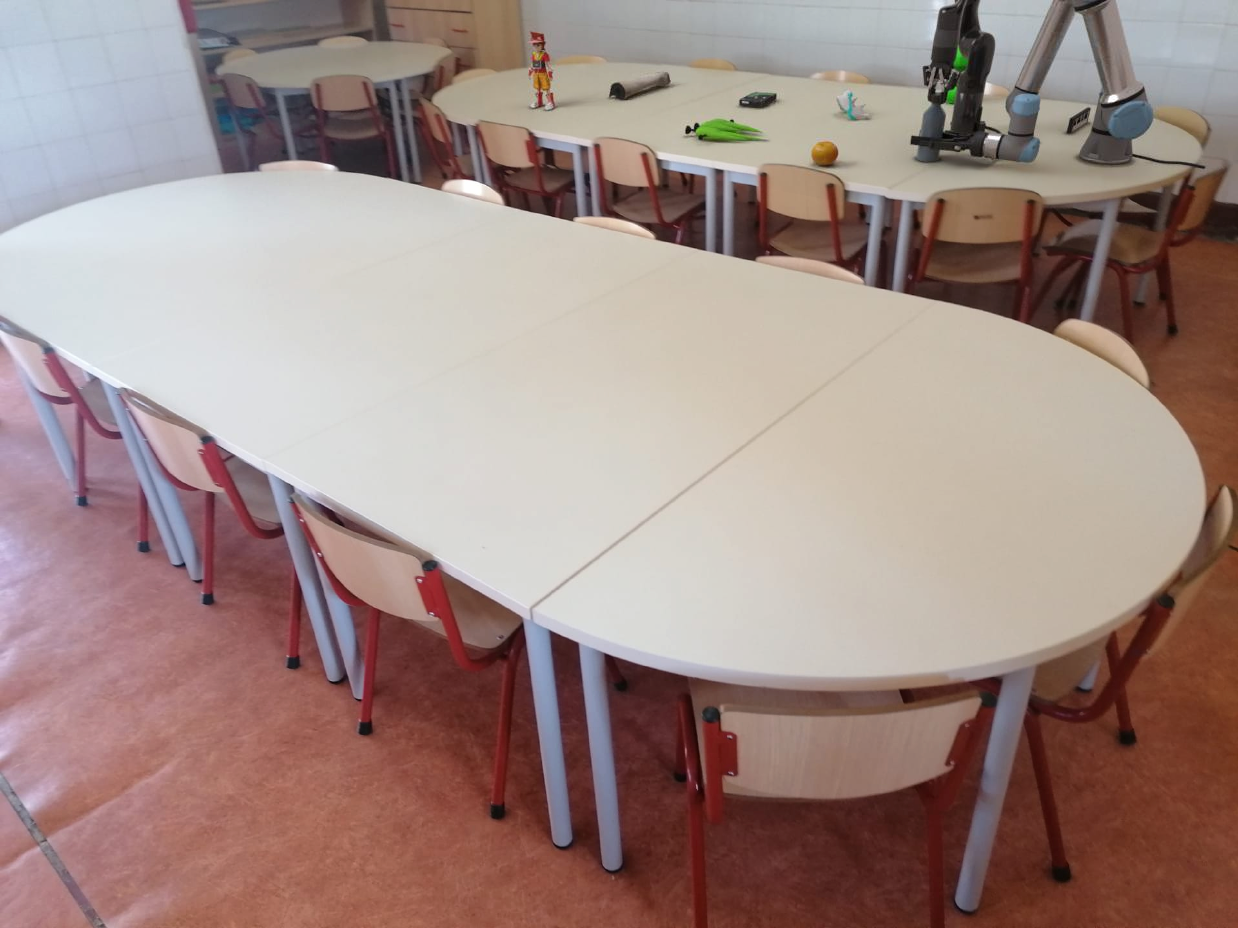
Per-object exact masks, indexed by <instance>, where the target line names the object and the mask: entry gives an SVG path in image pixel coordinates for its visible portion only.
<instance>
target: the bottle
mask: <svg viewBox="0 0 1238 928" xmlns="http://www.w3.org/2000/svg"><path fill="white" fill-rule="evenodd" d="M930 104H931V105H930V106H929V107H928V108H926V110H924V112H923V113H922V117H921V118H922V119H921V125H920V130H921V131H920V130H919V133H920V136H921V137H930V138H931V137H933V139H942V136H943V131H945V130H944V129H945V124H946V117H947V113H946V111H945V109H944V107H943V106H942V104H939V103H930ZM940 153H941V150H933V149H929V147H927V146H919V145H917V150H916V156H915V157H916V160H917V161H920V162H924V163H925V162H926V163H931V162H932V163H933V162H937V161H939V159H940Z"/></svg>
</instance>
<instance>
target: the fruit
mask: <svg viewBox="0 0 1238 928" xmlns="http://www.w3.org/2000/svg"><path fill="white" fill-rule="evenodd" d="M810 156H811V159H812V161H813V163H815V164H816V165H819V166H829V165H832V164H834V163H835V162H836V161H837V159H838V158H839V157H838V156H839V148H838V147H837V145H836V144H835V143H834V142H831V141H827V140H826V141H825V140H824V141H819V142H817V143H816V144H815V145H814V146H813V147H812V149H811V154H810Z"/></svg>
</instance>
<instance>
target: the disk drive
mask: <svg viewBox="0 0 1238 928" xmlns="http://www.w3.org/2000/svg"><path fill="white" fill-rule="evenodd" d="M777 97H778V96H777V93H775V92H759V91H755V92H751V93H749V94H747V95H745V96H744V97H742V98H740V99H739V100H738V106H740V107H746V108H758V109H759V108H764V107H766V106H767V105H769V104H771V103H773V102H775V101H776V100H777Z"/></svg>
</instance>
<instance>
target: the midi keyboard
mask: <svg viewBox="0 0 1238 928" xmlns="http://www.w3.org/2000/svg"><path fill="white" fill-rule="evenodd" d="M1091 109H1092V107H1085V108H1084V109H1082V110H1081V111H1079V112H1078V113H1076V114H1075V115H1073V116H1071V117H1070V118H1069V120H1068V124H1067V128H1066V129H1067V130H1066V134H1072V132H1074V131H1075V130H1077V129H1079V128H1080V127H1081V126H1083V125H1085V124H1086V123H1088V122H1089V118H1090V113H1091Z"/></svg>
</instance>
